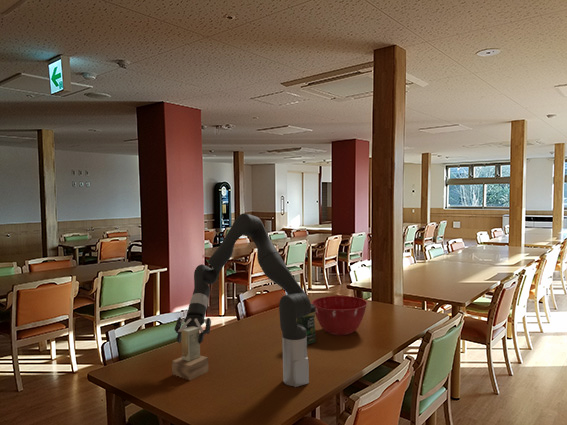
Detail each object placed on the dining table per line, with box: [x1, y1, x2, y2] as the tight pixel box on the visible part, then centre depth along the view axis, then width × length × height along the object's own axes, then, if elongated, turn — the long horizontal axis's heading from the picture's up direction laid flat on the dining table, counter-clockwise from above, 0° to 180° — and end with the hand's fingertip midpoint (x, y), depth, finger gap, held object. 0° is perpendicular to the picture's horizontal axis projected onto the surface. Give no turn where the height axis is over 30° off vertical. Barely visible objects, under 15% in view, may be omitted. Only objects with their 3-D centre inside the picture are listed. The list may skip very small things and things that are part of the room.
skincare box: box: [181, 326, 201, 361], centre depth 170 cm, size 6×4×12 cm
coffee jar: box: [296, 303, 317, 346], centre depth 202 cm, size 10×8×19 cm
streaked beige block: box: [171, 354, 209, 381], centre depth 170 cm, size 10×10×6 cm
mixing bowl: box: [311, 295, 368, 336], centre depth 219 cm, size 28×28×16 cm
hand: (189, 342), depth 169 cm, fingers open, 8 cm apart
